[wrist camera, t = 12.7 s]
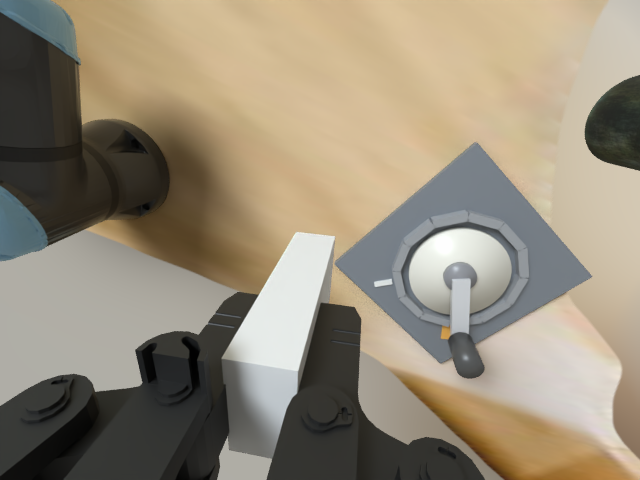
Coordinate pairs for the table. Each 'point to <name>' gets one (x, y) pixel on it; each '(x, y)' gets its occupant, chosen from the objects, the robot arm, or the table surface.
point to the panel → (474, 212)
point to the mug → (616, 125)
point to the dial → (460, 284)
